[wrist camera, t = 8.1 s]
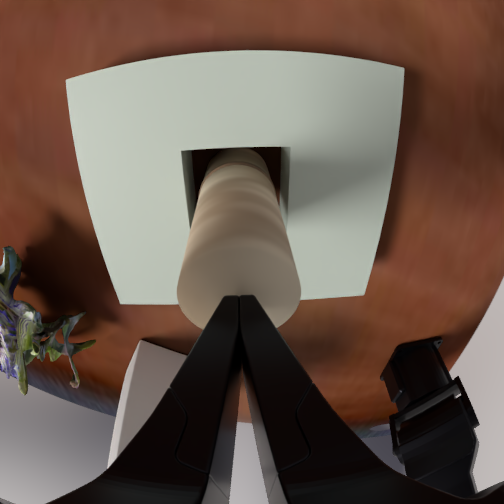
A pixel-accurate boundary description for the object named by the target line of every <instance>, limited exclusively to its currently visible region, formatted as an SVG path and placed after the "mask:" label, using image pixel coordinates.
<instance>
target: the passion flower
mask: <svg viewBox="0 0 504 504" xmlns="http://www.w3.org/2000/svg"><path fill="white" fill-rule="evenodd" d="M3 250H4V258H3V264H2V265H1V266H0V363H1V367H0V369H1V371H2V372H3V370H4V371H5V373H6V374H7V378H8V379H9V378H10V374H12V377H13V376H15V377H17V380H18V381H19V389H20V391H21V393H23V394H24V395H26V394H27V391H28V380H27V369H26V365H27V364H28V363H29V362H30V361H32V360H33V358H35V357H36V356H37V359H39V358H40V360H41V361H43V360H44V357H45V354H46V353H47V352H49V355H50V360H51V361H55V360H56V359H57V358H58V357H59V356H60V355H61V354H65V355H68V356H69V359H70V363H71V367H72V369H73V371H74V375H73V379H72V380H71V381H70V384H71V385H72V387H75V388H78V386H79V383H80V381H79V378H78V372H77V371H76V368H75V366H74V363H73V361H72V355H74V354H76V353H78V352H79V351H82V350H84V349H87V348H90V347H91V346H92V345H94V343H95V342H96V340H90V341H86V342H83V343H69V342H68V337H69V334H70V332H71V331H72V330H73V328H74V326H75V324H76V323H77V322H78V321H79V319H80V318H81V317H82V316H83V315H84V314H86V312H83V313H80V314H78V315H75V316H72V315H68V316H66V315H63V316H62V317H60V318H58V320H57V321H55V322H52V323H43V324H42V323H41V314H40V312H36V310H35V309H34V308H33V307H32V306H31V305H30V304H29V303H26V302H24V301H16V300H14V299H13V292H14V290H15V288H16V286H17V284H18V281H19V279H20V276H21V266H22V262H21V259H20V258H19V256H18V254H16V253H15V250H14V249H13V247H11V246H8V247H4V248H3ZM59 329H62V331H63V336H64V344H59V343H58V342H57V341H56V339H55V334H56V333H57V331H58V330H59ZM48 336H50V337H49V338H48V339H46V340H45V341H41V339H42V338H44V337H48ZM40 341H41V342H40ZM77 382H78V384H77Z"/></svg>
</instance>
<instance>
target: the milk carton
mask: <svg viewBox="0 0 504 504" xmlns="http://www.w3.org/2000/svg"><path fill="white" fill-rule="evenodd" d="M186 357H187V356H186V355H183V354H180V353H177V352H174V351H171V350H168V349H165V348H163V347H160V346H157V345H154V344H151V343H149V342H146V341H143V340H140V341H139V343H138V345H137V348H136V350H135V352H134V355H133V357H132V359H131V362H130V364H129V366H128V369H127V371H126V375H125V379H124V383H123V388H122V392H121V397H120V401H119V406H118V411H117V416H116V421H115V426H114V431H113V436H112V442H111V448H110V454H109V460H108V467H109V466H110V465H111V464H112V463H113V462H114V461H115V459H116V458H117V457H118V456H119V454H120V453H121V452H122V451H123V450H124V448H125V447H126V446H127V445H128V443H129V442H130V441H131V440H132V439H133V437H134V436H135V435H136V434H137V432H138V431H139V430H140V429H141V427H142V426H143V425H144V423H145V422H146V421H147V419H148V418H149V417H150V415H151V414H152V412H153V411H154V409H155V408H156V406H157V405H158V403H159V402H160V400H161V399H162V397H163V395H164V394H165V392H166V390H167V389H168V388H170V384H171V382H172V381H173V379H174V377H175V376H176V374H177V372H178V371H179V369H180V367H181V366H182V364H183V362H184V361H185V359H186ZM108 467H107V469H108Z"/></svg>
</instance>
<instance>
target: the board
mask: <svg viewBox="0 0 504 504" xmlns="http://www.w3.org/2000/svg"><path fill="white" fill-rule="evenodd" d="M403 84H404V68H402V67H398V66H394V65H389V64H384V63H379V62H374V61H369V60H363V59H357V58H351V57H344V56H337V55H329V54H319V53H308V52H294V51H269V50H244V51H218V52H204V53H193V54H184V55H176V56H168V57H161V58H155V59H149V60H143V61H138V62H133V63H128V64H123V65H119V66H114V67H110V68H106V69H102V70H98V71H94V72H91V73H87V74H84V75H80V76H77V77H74V78H70V79H67V80H66V88H67V97H68V105H69V113H70V120H71V127H72V133H73V139H74V145H75V150H76V155H77V160H78V165H79V170H80V174H81V179H82V183H83V187H84V192H85V196H86V200H87V203H88V207H89V211H90V215H91V218H92V222H93V225H94V229H95V232H96V235H97V239H98V242H99V245H100V248H101V251H102V254H103V257H104V260H105V263H106V266H107V269H108V272H109V275H110V278H111V280H112V283H113V286H114V288H115V291H116V294H117V296H118V299H119V301H120V304H179V303H178V300H177V285H178V280H179V276H180V271H181V267H182V262H183V258H184V254H185V250H186V246H187V241H188V237H189V233H190V229H191V225H192V221H193V217H194V214H195V210H196V206H197V204H196V194H195V184H194V174H193V163H192V151H191V150H197V149H212V148H234V147H281V176H280V207H279V208H280V212H281V215H282V219H283V222H284V226H285V229H286V233H287V236H288V240H289V243H290V247H291V251H292V254H293V258H294V262H295V265H296V269H297V273H298V276H299V280H300V284H301V298H300V300H306V299H321V298H334V297H347V296H359V295H364V293H365V290H366V287H367V283H368V280H369V276H370V273H371V269H372V265H373V262H374V258H375V254H376V250H377V246H378V242H379V238H380V234H381V230H382V225H383V221H384V216H385V211H386V207H387V202H388V197H389V192H390V186H391V181H392V175H393V169H394V163H395V157H396V150H397V143H398V135H399V127H400V118H401V108H402V97H403Z"/></svg>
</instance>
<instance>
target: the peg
mask: <svg viewBox="0 0 504 504" xmlns="http://www.w3.org/2000/svg"><path fill="white" fill-rule="evenodd" d="M250 294H252V295H254V296H255V297H256V298H257V300H258V301H259V303H260V304H261V306H262V307H263V309H264V310H265V312H266V313H267V315H268V316H269V318H270V319H271V321H272V322H273V324H274V325H275V327H276V328H277V327H279V326H281V325H282V324H283V323H285V322H286V321H287V320H288V319H289V318H290V317H291V316H292V315H293V313H294V312H295V310H296V309H297V307H298V304H299V302H300V298H301V284H300V280H299V276H298V273H297V269H296V265H295V262H294V258H293V254H292V251H291V247H290V243H289V240H288V236H287V233H286V229H285V226H284V222H283V219H282V215H281V212H280V208H279V205H278V201H277V198H276V191H275V188H274V185H273V182H272V180H271V178H270V175H269V171H268V168H267V165H266V163H265V161H264V160H263V158H262V157H261V156H260V155H259V154H258V153H257V152H255V151H253V150H251V149H249V148H246V147H234V148H226V149H223V150H221V151H220V152H218V153H217V154H216V155H215V156H214V157H213V158H212V159H211V160H210V162H209V164H208V166H207V170H206V173H205V177H204V180H203V182H202V184H201V187H200V191H199V196H198V202H197V206H196V210H195V214H194V217H193V221H192V225H191V229H190V233H189V237H188V241H187V246H186V250H185V254H184V258H183V262H182V267H181V271H180V276H179V280H178V285H177V300H178V303H179V306H180V308H181V310H182V311H183V313H184V314H185V316H186V317H187V318H188V319H189V320H190V321H191V322H192V323H194V324H195V325H196V326H198V327H199V328H201V329H204V328H205V326H206V324H207V323H208V321H209V319H210V318H211V316H212V314H213V313H214V311H215V309H216V308H217V306H218V304H219V303H220V301H221V299H222V298H223V297H224V296H225V295H238V296H240V295H250Z"/></svg>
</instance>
